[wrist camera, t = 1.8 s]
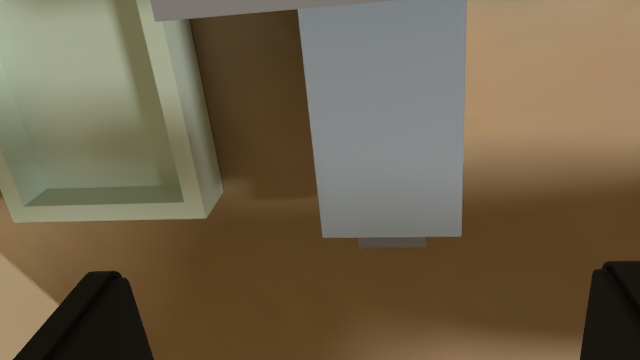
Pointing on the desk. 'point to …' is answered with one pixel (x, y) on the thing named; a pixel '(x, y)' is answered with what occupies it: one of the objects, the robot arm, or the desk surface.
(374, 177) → the pale grey block
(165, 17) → the grey rectangular box
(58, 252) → the desk surface
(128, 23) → the tray
